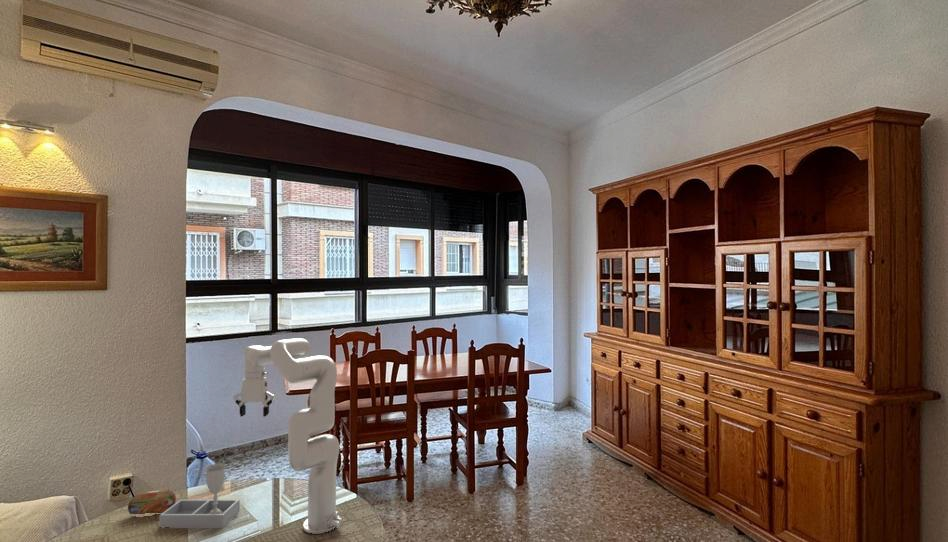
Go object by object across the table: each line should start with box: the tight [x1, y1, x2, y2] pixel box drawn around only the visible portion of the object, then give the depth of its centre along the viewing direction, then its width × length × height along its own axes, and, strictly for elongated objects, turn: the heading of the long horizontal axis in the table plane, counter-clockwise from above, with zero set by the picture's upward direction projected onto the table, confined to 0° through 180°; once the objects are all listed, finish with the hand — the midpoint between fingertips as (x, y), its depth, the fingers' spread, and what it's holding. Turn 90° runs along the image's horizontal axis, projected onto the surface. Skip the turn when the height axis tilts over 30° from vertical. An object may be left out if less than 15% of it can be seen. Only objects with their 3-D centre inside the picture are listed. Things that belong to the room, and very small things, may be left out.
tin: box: [127, 489, 177, 515], centre depth 172 cm, size 15×3×8 cm, turn 105°
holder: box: [158, 499, 241, 529], centre depth 167 cm, size 22×12×4 cm, turn 90°
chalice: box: [204, 462, 227, 514], centre depth 168 cm, size 7×7×18 cm
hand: (254, 415), depth 194 cm, fingers open, 9 cm apart
